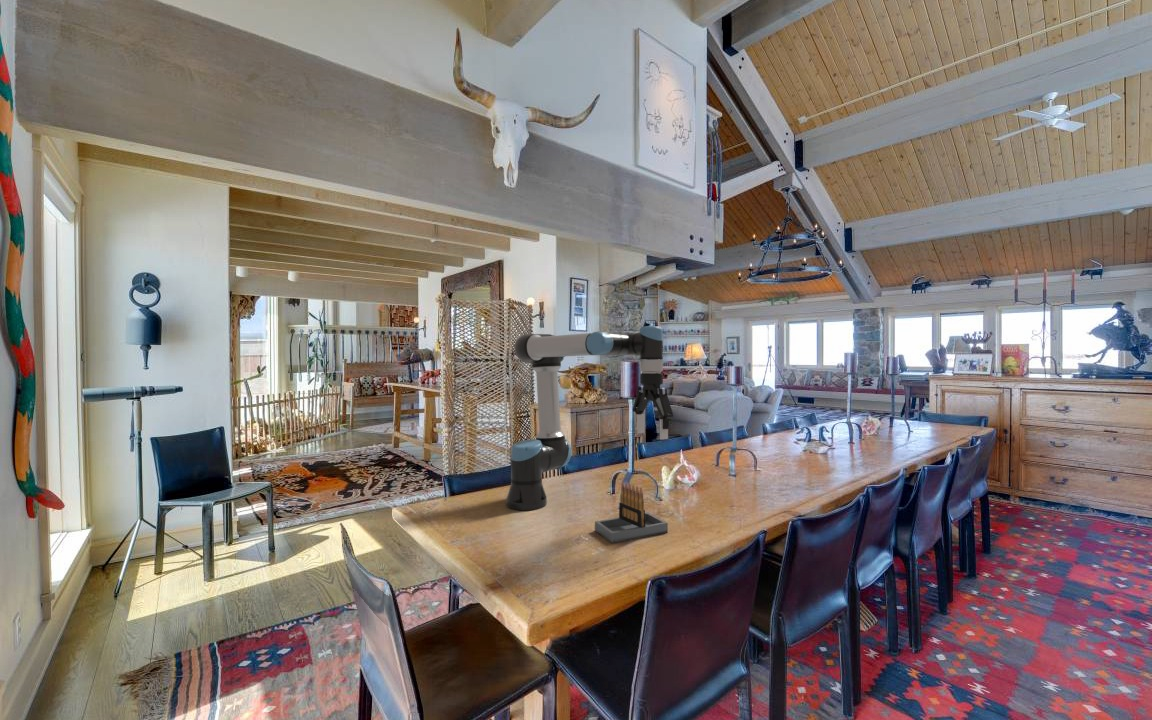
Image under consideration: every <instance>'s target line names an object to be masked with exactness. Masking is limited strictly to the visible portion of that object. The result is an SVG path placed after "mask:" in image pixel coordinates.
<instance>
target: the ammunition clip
mask: <svg viewBox="0 0 1152 720" xmlns="http://www.w3.org/2000/svg"><path fill="white" fill-rule="evenodd" d="M639 488H640V489H639ZM618 507H619V508H618V509H619V511H618V517H619V518H620V519H622V520H624V521H627V522H629V523H631V524H633V525H636V526H638V527H640V528H642V527H645V513H646V510H645V502H644V492H643V488H642V487H639V486H636V487H635V485H634V484H633V485H631V483H629V484H628V482H624V481H623V480H622V482H621V486H620V499H619V503H618Z"/></svg>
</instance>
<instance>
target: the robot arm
mask: <svg viewBox="0 0 1152 720" xmlns="http://www.w3.org/2000/svg"><path fill="white" fill-rule="evenodd" d="M663 336H664V335H663V328H662V327H661V326H658V325H657V326H656V325H646V326H641V327H640V328H639V332H636V333H635V332H634V333H633V332H632V333H631V332H630V333H629V332H628V333H622V332H611V331H610V332H607V331H603V330H601V331H594V332H586V333H575V334H573V333H572V334H559V335H555V334H550V333H549V334H548V333H547V334H545V333H523V334H522V335H520V336H519V337H518V338H517V339H516V340H515V343H514V353H515V355H516V357H517V358H518V359H519V361H521V362H523V363H526V364H531V369H532V370H533V371H534V372H535V375H536V392H537V394H536V395H537V409H538V410H537V412H538V415H537V416H538V428H539V430H538V433H537V434H536V436H535V438H534V439H533V438H532V439H524V440H519V441H516V442H515V443H513V444H512V446H511V448H510V486H509V490H508V494H507V496H506V499H505V502H506V507H507V508H509V509H511V510H516V511H533V510H538V509H541V508H543V507H545V506H546V505H548V504H547V503H548V500H547V497H548V496H547V495H546V491H545V489H544V485H543V473H545V472H549V471H553V470H559V469H560V468H563V467H565V466H566V465H567V464H568V463H569V462H570V460H571V457H572V452H573V451H572V446H571V444H570V443H569V441H568V440H567V439H566V434H565V433H564V432H562V429H561V428H562V427H561V413H560V412H561V411H560V394H559V393H560V392H559V391H560V390H559V376H558V374H559V373H558V371H559V370H560V369H561V367H562V365H561V364H562V363H561V362H563V360H564V359H565V357H580V356H581V357H582V356H583V357H584V356H585V357H586V356H639V357H640V359H639V371H640V372H641V373H640V375H639V376H640V381H639V382H640V384H641V385H637V390H636V391H637V392H636V396H635V400H634V403H633V407H632V412H634V413H635V415H636V434H645V429H646V427H645V419H646V418H645V410H646V408H647V406H648V404H649V402H650V401H651V402H653V403H654V406H655V407H656V409H657V411H658V414H659V415H660V417H659V440H668V439H669V426H670V425H669V424H670V423H669V420H670V419H671V418H673V417H674V413H673V410H672V406H671V403H670V399H669V396H668V389H667V387H661V385H663V383H664V374H663V373H662V372H663V371H664V362H663V359H664V356H663V354H664V352H663V350H664V347H663V346H664V344H663V343H664V337H663Z"/></svg>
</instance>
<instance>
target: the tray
mask: <svg viewBox="0 0 1152 720" xmlns="http://www.w3.org/2000/svg"><path fill="white" fill-rule="evenodd" d="M668 523H669V522H666V521H665V520H663V519H661V518H659V517H657V516H655V515H654V514H652V513H650V512H645V527H642V528H640V527H638V526H636V525H633V524H631V523H629V522H627V521H624V520H622V519H620V518H619V516H618V517H612V518H607V519H603V520H602V519H601V520H595V521H594V531H595V532H596V533H598V534H599V535H600V536H601V537H603V538H604V539H605V538H606V539H605V540H606V541H608V542H609V541H610V543H611V544H615V542H617V543H621V542H620V541H622V542H627V541H630V540H631V539H632V540H636V539H641V538H646V537H651V536H657V535H661V534H667V533H668V529H669V528H668V526H669V524H668ZM626 540H627V541H626Z"/></svg>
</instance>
